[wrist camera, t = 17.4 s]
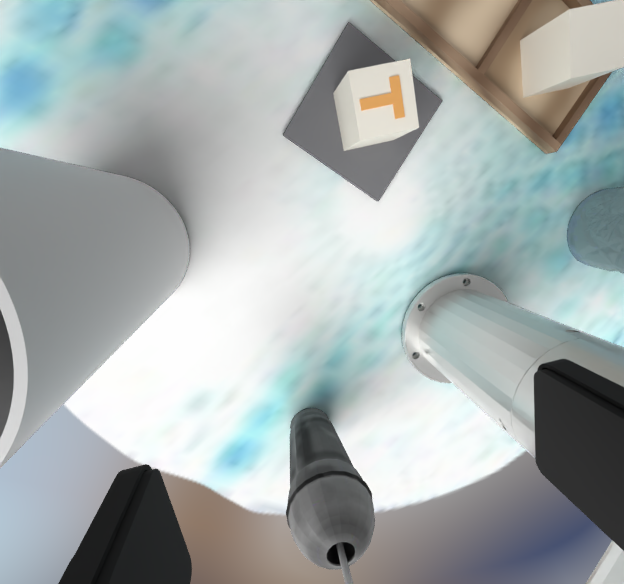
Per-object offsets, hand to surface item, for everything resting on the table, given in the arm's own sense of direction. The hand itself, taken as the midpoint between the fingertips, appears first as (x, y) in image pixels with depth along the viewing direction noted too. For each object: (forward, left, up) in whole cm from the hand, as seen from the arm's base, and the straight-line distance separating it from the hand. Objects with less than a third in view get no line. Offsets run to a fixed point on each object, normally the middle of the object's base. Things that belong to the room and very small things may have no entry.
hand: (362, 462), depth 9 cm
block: (-11, -30, -28) cm, 42 cm away
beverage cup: (-12, +14, -28) cm, 34 cm away
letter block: (+1, -16, -28) cm, 32 cm away
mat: (+1, -16, -28) cm, 32 cm away
